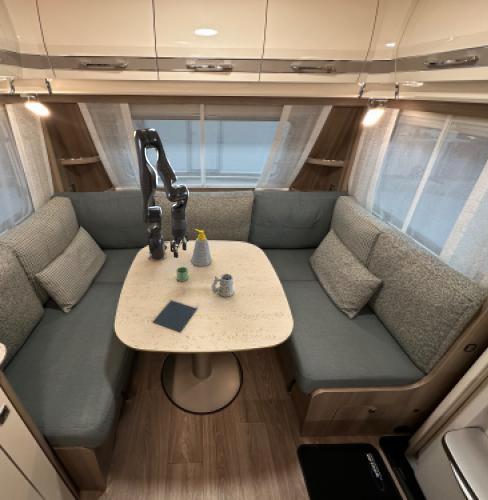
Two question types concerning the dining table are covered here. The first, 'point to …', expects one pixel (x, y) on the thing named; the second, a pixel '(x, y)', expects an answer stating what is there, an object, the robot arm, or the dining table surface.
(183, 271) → the green cup
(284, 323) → the dining table surface
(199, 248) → the soap bottle
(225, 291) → the mug
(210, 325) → the dining table surface
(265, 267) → the dining table surface
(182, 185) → the robot arm
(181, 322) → the placemat
